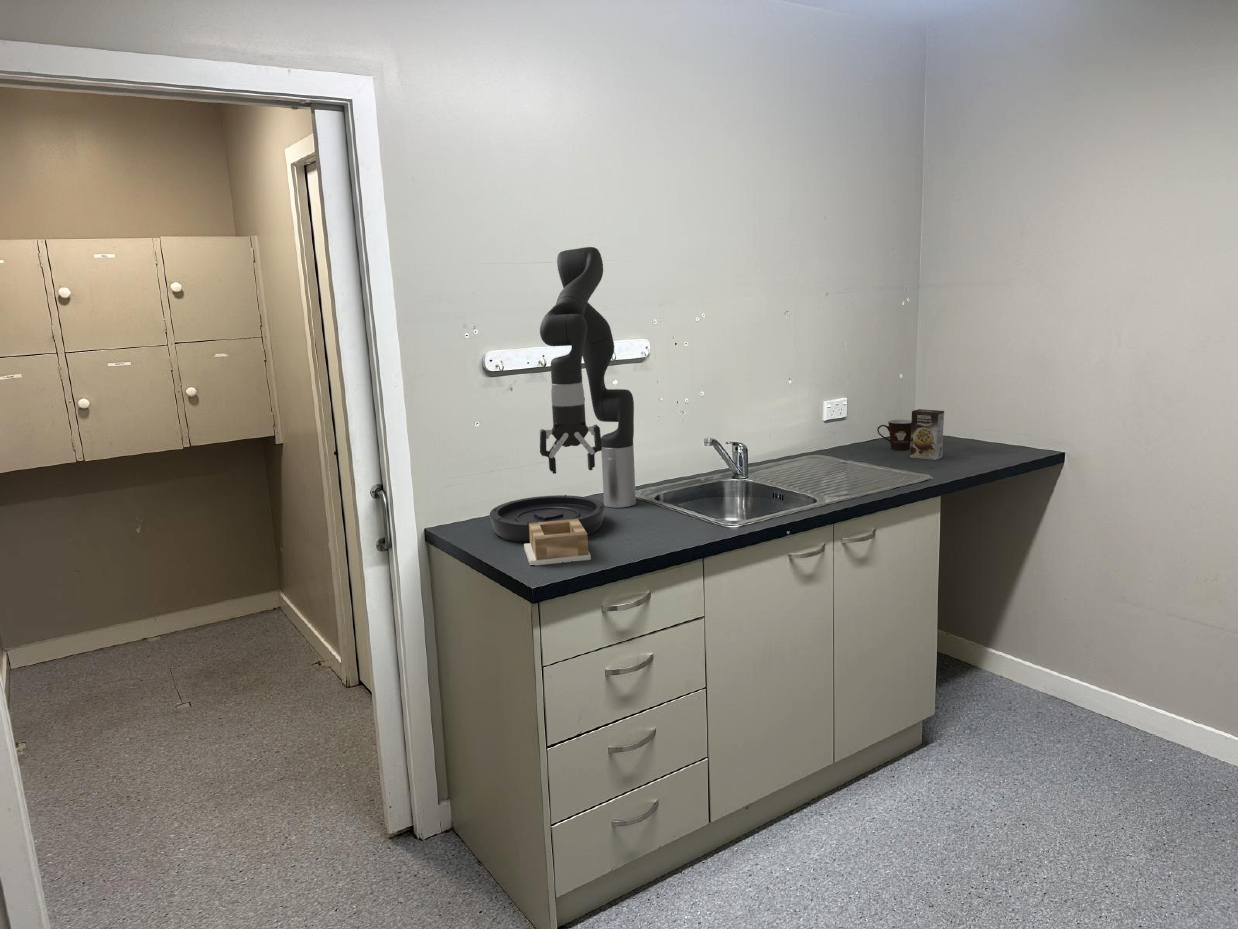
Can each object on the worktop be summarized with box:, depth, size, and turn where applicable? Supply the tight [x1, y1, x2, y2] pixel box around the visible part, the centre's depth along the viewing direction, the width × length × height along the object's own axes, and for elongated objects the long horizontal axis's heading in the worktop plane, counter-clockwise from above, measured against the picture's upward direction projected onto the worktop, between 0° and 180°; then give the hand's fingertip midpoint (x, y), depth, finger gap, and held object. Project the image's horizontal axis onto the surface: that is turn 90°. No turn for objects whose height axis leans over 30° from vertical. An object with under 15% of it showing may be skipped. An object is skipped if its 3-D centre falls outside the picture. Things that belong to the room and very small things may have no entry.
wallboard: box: [523, 543, 592, 566], centre depth 201 cm, size 14×14×4 cm
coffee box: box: [909, 408, 945, 461], centre depth 289 cm, size 9×6×16 cm
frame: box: [529, 519, 589, 560], centre depth 201 cm, size 14×12×5 cm
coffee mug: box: [876, 419, 912, 452], centre depth 306 cm, size 12×9×10 cm
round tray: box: [489, 494, 606, 544], centre depth 223 cm, size 30×6×30 cm
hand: (572, 471), depth 199 cm, fingers open, 8 cm apart
